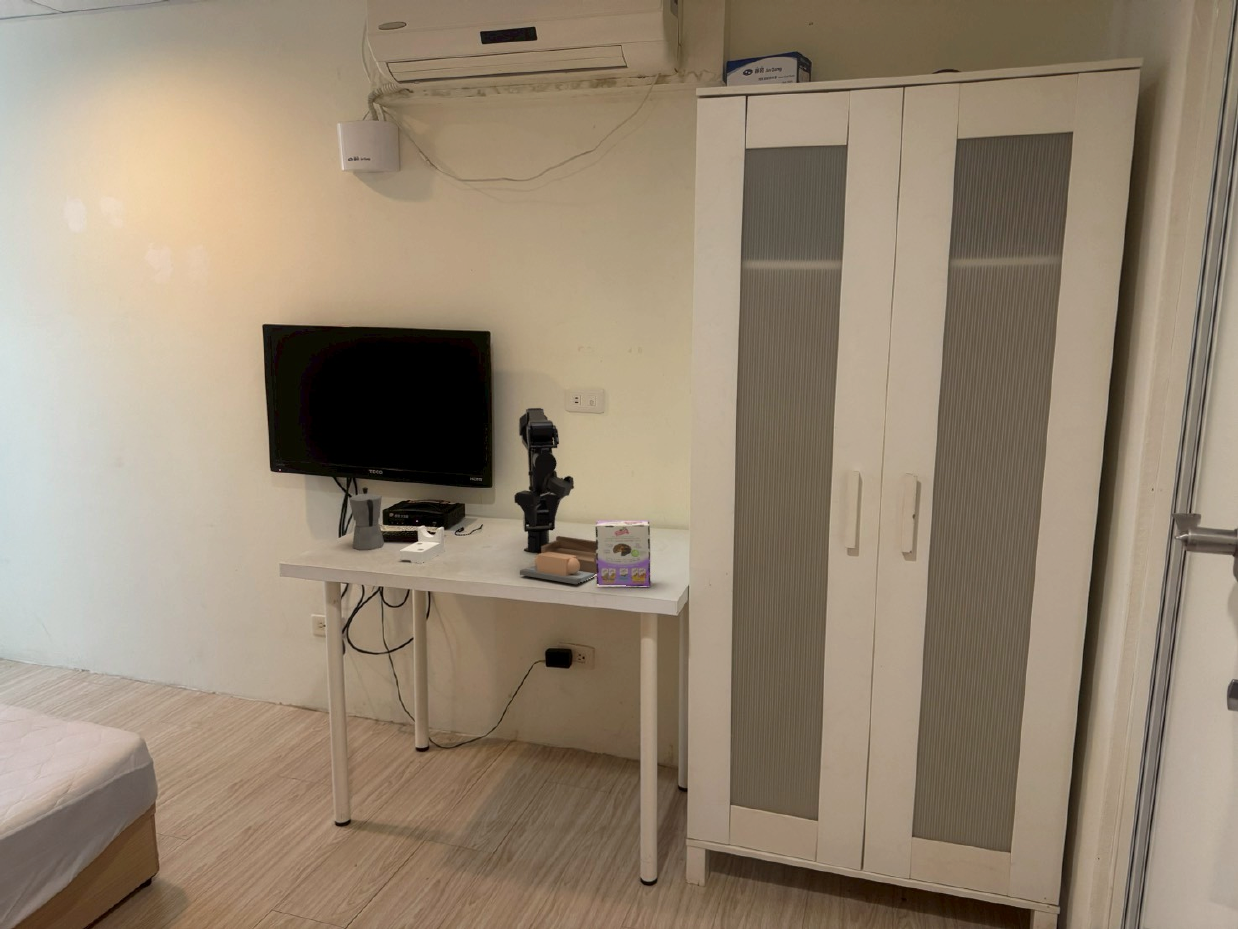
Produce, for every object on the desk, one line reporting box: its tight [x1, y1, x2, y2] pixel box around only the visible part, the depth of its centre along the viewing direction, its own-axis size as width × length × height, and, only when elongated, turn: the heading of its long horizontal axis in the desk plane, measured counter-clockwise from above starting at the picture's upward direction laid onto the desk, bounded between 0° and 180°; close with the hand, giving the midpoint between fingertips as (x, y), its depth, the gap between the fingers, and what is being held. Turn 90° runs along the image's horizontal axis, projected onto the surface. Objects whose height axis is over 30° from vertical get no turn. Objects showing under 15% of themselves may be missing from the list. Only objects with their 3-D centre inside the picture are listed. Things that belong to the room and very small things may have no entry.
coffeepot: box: [349, 486, 385, 551], centre depth 261 cm, size 15×9×18 cm, turn 26°
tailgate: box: [519, 565, 595, 585], centre depth 231 cm, size 1×18×9 cm
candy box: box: [594, 519, 651, 587], centre depth 224 cm, size 14×6×16 cm, turn 88°
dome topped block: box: [534, 552, 580, 576], centre depth 230 cm, size 5×13×4 cm, turn 61°
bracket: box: [399, 525, 446, 564], centre depth 252 cm, size 13×7×8 cm, turn 163°
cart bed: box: [541, 535, 596, 574], centre depth 239 cm, size 8×18×7 cm, turn 61°
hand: (543, 523), depth 241 cm, fingers open, 9 cm apart
